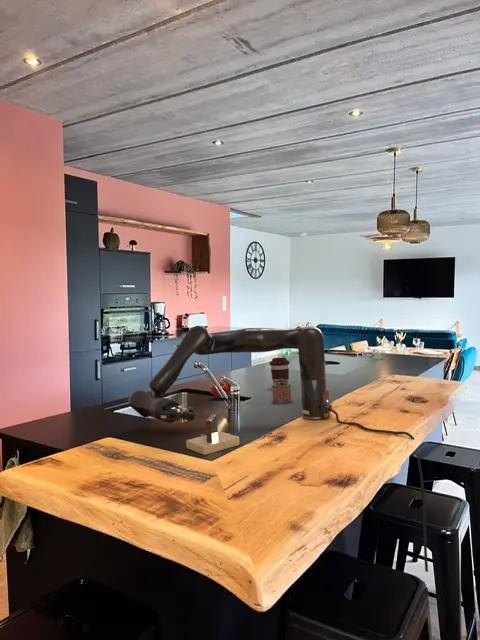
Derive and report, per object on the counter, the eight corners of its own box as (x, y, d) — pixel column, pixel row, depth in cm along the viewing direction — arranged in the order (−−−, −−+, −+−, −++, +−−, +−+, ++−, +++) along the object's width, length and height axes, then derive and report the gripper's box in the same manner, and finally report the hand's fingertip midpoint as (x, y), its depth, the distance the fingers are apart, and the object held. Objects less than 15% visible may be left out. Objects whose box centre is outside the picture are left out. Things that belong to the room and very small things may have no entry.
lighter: (291, 400, 209) (290, 377, 209) (291, 402, 205) (290, 379, 205) (272, 401, 210) (271, 378, 209) (272, 403, 206) (271, 380, 206)
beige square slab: (218, 438, 158) (217, 429, 158) (243, 445, 148) (242, 437, 147) (183, 447, 150) (182, 438, 150) (207, 456, 139) (206, 447, 139)
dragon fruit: (211, 400, 228) (232, 405, 222) (203, 393, 222) (225, 398, 216) (218, 384, 232) (239, 389, 226) (210, 376, 225) (232, 381, 219)
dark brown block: (213, 434, 153) (211, 413, 153) (217, 434, 153) (216, 413, 153) (206, 442, 144) (205, 420, 144) (212, 442, 144) (210, 420, 144)
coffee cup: (283, 390, 234) (281, 359, 234) (267, 389, 241) (265, 359, 241) (294, 386, 242) (293, 357, 241) (279, 385, 248) (277, 356, 248)
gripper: (146, 402, 160) (172, 408, 146) (180, 395, 168) (208, 401, 154) (147, 424, 160) (174, 433, 146) (182, 416, 168) (210, 424, 154)
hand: (192, 416), depth 150 cm, fingers closed
